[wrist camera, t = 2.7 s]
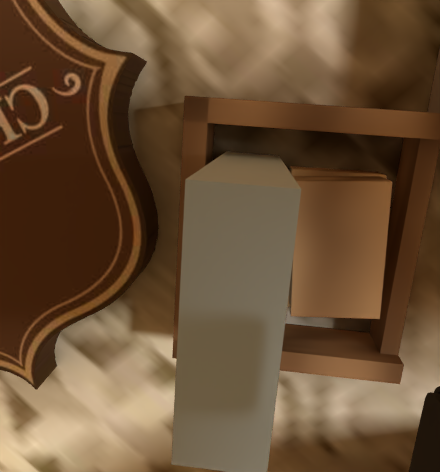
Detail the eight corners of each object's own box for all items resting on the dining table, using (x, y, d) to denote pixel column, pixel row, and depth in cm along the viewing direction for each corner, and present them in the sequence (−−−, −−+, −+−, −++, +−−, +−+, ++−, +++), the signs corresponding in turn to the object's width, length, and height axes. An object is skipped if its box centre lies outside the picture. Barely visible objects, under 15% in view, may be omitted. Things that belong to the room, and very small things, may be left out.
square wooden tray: (426, 116, 23) (455, 114, 20) (382, 351, 27) (399, 384, 23) (195, 100, 24) (184, 95, 20) (183, 329, 27) (172, 357, 24)
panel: (278, 155, 24) (301, 189, 11) (263, 299, 26) (266, 477, 13) (226, 151, 24) (185, 179, 11) (216, 294, 27) (171, 464, 13)
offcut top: (379, 176, 22) (392, 181, 20) (369, 302, 24) (379, 318, 22) (292, 176, 23) (295, 181, 21) (288, 299, 24) (291, 316, 22)
